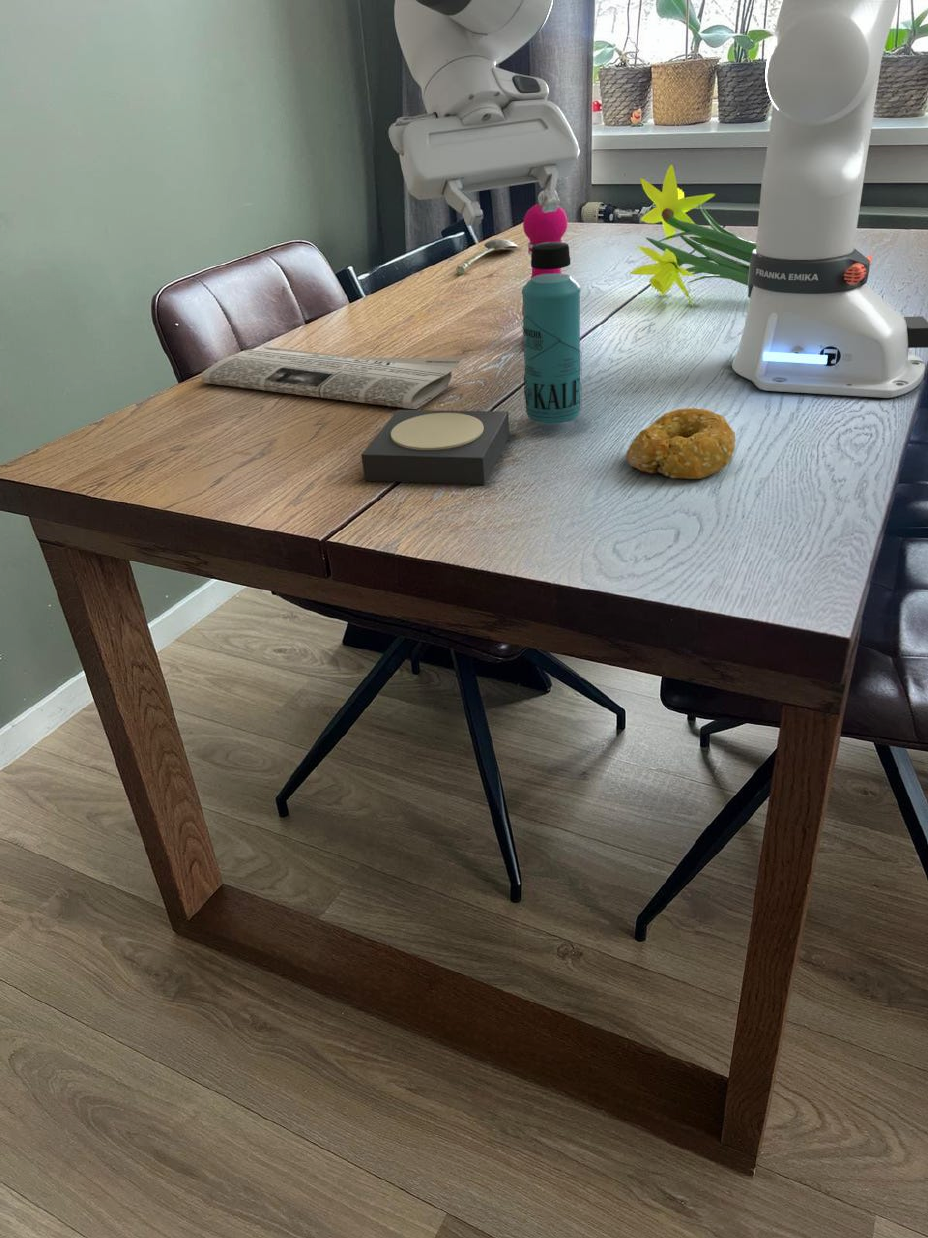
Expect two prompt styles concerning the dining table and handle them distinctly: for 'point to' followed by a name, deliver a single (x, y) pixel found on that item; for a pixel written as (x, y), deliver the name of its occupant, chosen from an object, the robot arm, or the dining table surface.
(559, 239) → the pepper mill
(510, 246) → the soupspoon
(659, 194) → the daffodil flowers
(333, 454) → the dining table surface
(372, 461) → the display stand
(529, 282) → the beverage bottle
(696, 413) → the bagel
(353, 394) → the newspaper
